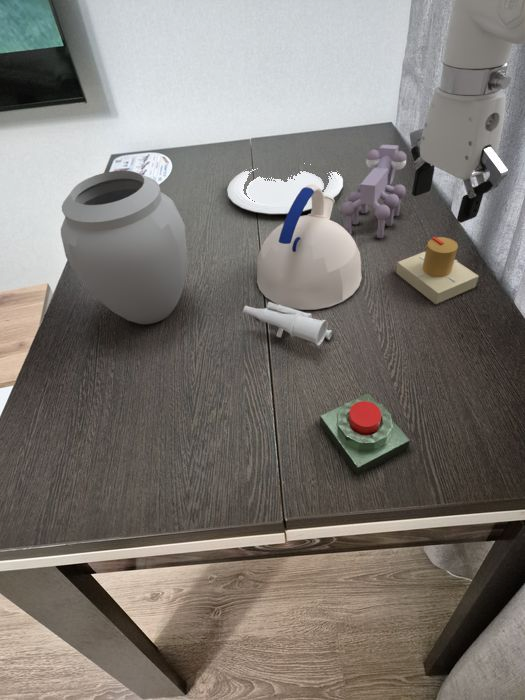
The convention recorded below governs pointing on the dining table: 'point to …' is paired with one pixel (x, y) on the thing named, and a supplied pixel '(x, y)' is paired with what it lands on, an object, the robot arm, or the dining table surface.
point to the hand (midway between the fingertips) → (442, 205)
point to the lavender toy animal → (377, 189)
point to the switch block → (363, 437)
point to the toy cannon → (292, 322)
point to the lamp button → (364, 417)
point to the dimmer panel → (436, 279)
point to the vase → (126, 244)
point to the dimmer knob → (440, 256)
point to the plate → (278, 191)
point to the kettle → (309, 257)
